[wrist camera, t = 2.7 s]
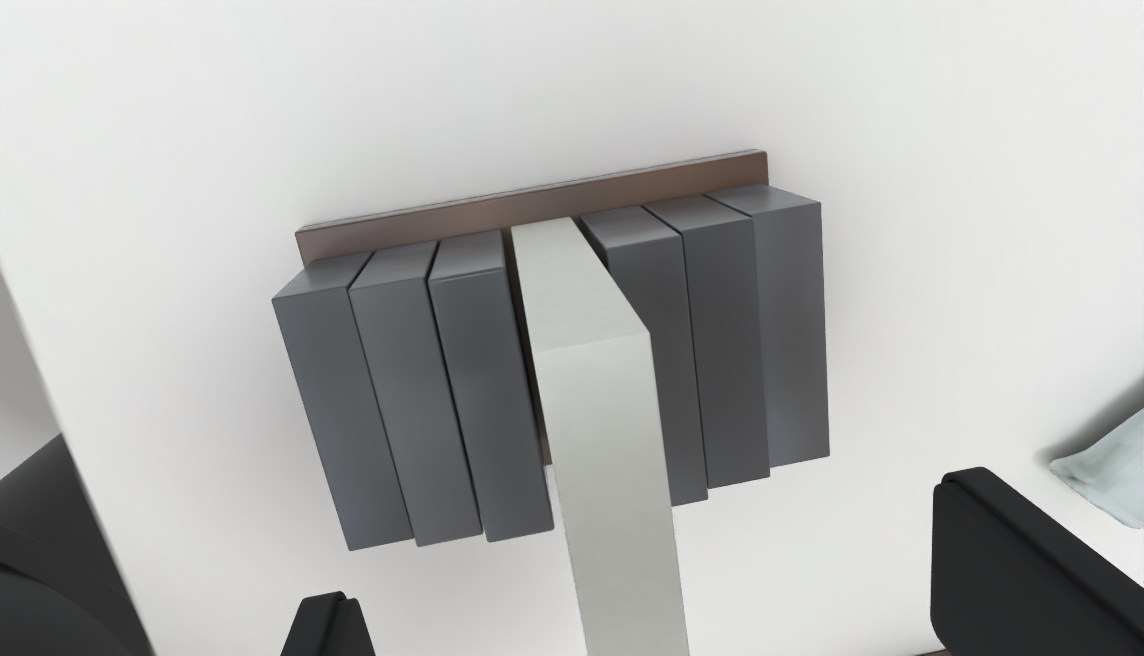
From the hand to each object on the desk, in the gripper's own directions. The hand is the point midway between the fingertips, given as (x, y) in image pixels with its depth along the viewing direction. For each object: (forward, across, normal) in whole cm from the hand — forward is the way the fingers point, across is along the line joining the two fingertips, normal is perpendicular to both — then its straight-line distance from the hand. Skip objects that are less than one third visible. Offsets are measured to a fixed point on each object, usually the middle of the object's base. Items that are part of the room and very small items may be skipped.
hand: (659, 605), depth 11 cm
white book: (+14, 0, 0) cm, 14 cm away
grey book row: (+15, 0, 0) cm, 15 cm away
